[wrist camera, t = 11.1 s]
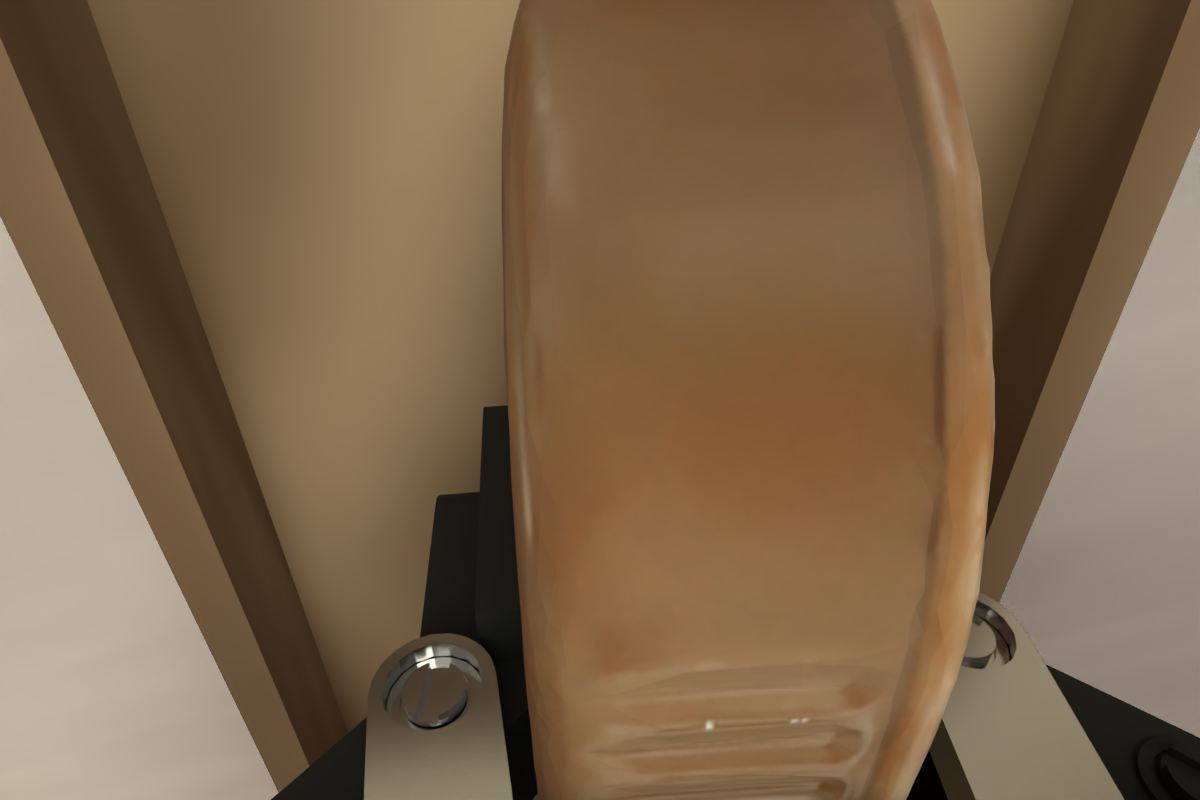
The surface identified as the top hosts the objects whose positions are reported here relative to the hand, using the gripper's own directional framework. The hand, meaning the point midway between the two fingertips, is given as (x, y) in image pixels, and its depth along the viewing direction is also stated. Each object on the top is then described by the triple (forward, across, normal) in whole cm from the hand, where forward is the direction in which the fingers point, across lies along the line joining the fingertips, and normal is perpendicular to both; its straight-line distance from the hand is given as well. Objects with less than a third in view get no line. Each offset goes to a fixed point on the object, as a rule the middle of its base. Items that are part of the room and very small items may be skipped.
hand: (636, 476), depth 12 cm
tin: (+2, 0, 0) cm, 2 cm away
